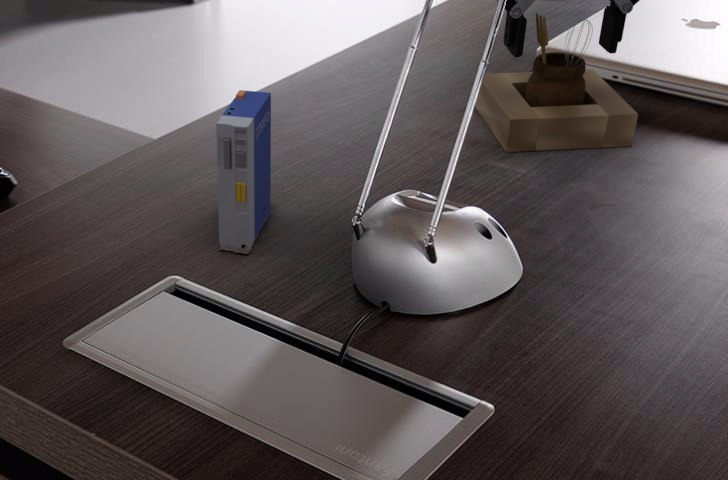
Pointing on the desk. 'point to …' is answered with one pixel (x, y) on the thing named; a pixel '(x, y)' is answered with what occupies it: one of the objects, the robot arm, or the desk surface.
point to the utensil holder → (556, 74)
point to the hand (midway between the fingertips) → (560, 51)
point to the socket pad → (555, 116)
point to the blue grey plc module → (244, 168)
